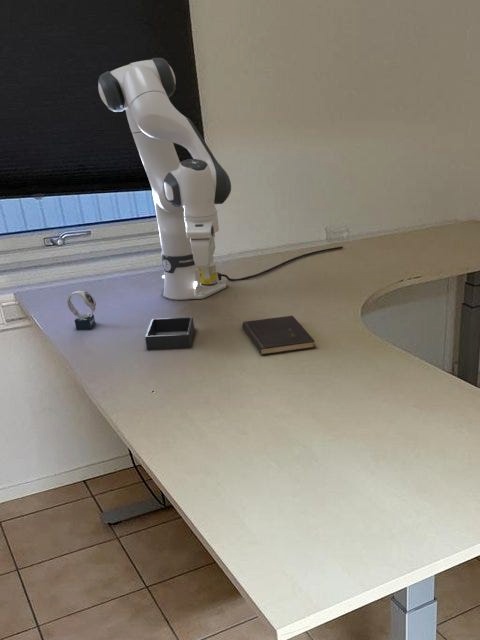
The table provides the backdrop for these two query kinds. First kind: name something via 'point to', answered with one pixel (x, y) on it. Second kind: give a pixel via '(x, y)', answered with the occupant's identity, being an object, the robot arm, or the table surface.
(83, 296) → the watch
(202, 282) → the supplement bottle
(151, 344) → the tray
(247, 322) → the hardcover book
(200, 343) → the table surface
